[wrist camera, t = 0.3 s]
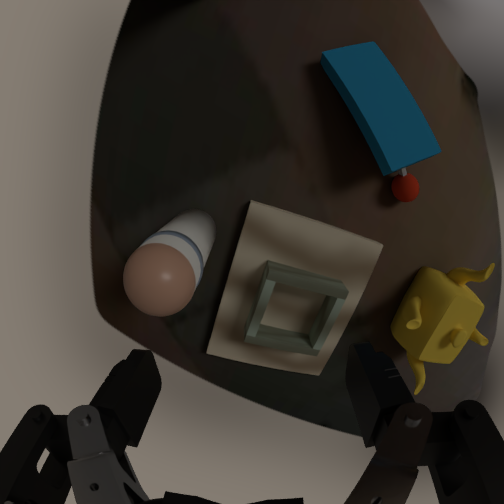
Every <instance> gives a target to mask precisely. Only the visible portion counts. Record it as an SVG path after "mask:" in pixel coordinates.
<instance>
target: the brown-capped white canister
mask: <svg viewBox="0 0 504 504" xmlns="http://www.w3.org/2000/svg"><path fill="white" fill-rule="evenodd" d="M216 234H217V229H216V225H215V222H214V220H213V219H212V217H211V216H210V215H209V214H208V213H206V212H205V211H203V210H200V209H188V210H185V211H183V212H181V213H180V214H179V215H177V216H176V217H175V218H174V219H172V220H171V221H170V222H169V223H167V224H166V225H165V226H164V227H163V228H161V229H160V230H159V231H158V232H157V233H155V234H153V235H151V236H150V237H149V238H147V239H146V240H145V241H144V242H143V243H142V244H141V246H140V247H139V248H138V249H136V250H135V251H134V252H133V253H132V255H131V256H130V257H129V259H128V261H127V263H126V265H125V268H124V273H123V283H124V289H125V292H126V294H127V296H128V298H129V300H130V301H131V302H132V304H133V305H134V306H135V307H136V308H138V309H139V310H140V311H142V312H144V313H146V314H149V315H152V316H168V315H172V314H174V313H176V312H178V311H180V310H181V309H183V308H184V307H185V306H186V305H187V304H188V302H189V301H190V300H191V298H192V296H193V294H194V291H195V289H196V287H197V286H198V284H199V282H200V279H201V277H202V274H203V268H204V266H205V263H206V261H207V258H208V256H209V253H210V251H211V248H212V246H213V243H214V241H215V238H216Z"/></svg>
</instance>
